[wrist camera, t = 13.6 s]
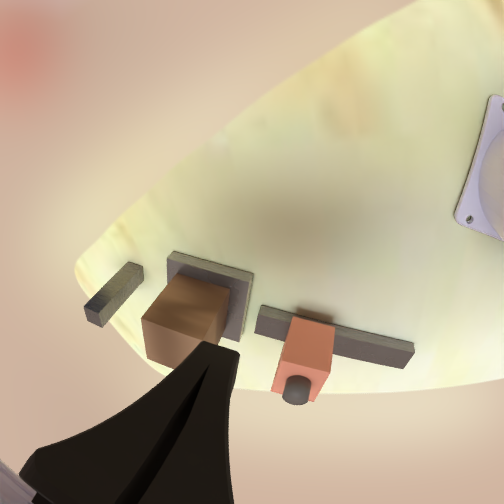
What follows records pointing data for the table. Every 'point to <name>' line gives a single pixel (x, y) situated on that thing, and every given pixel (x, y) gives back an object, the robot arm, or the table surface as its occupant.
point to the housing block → (184, 319)
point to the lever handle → (304, 361)
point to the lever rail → (341, 339)
